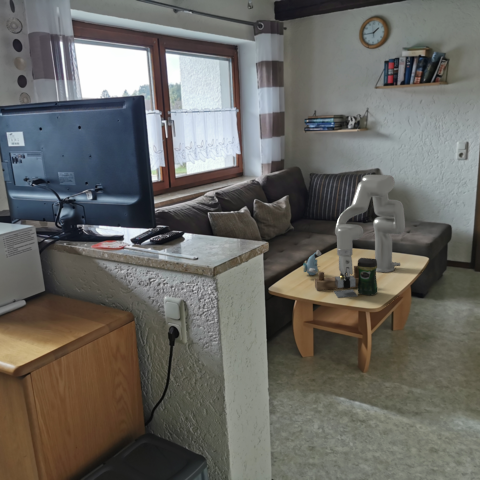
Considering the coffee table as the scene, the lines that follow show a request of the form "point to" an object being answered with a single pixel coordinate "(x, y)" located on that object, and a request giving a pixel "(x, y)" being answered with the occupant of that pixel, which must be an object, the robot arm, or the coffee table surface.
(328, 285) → the brown long u-shaped block
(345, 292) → the mat
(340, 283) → the lever cap
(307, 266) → the toy figure
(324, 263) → the coffee table surface
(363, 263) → the coffee jar
